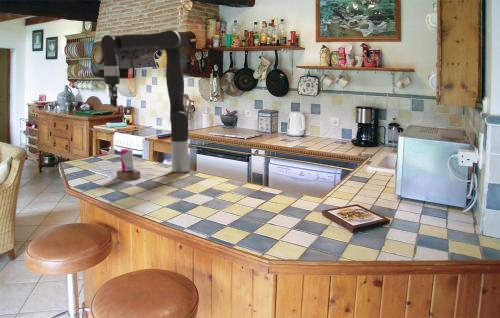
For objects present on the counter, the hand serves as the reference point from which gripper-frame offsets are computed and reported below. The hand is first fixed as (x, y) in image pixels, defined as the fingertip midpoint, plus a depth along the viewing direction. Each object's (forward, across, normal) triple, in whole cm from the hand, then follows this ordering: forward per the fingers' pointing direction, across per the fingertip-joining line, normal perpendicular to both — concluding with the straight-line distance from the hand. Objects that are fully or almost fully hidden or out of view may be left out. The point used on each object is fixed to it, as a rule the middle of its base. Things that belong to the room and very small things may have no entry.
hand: (113, 105), depth 218 cm
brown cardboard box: (+37, -15, -3) cm, 40 cm away
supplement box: (+33, -15, -3) cm, 36 cm away
